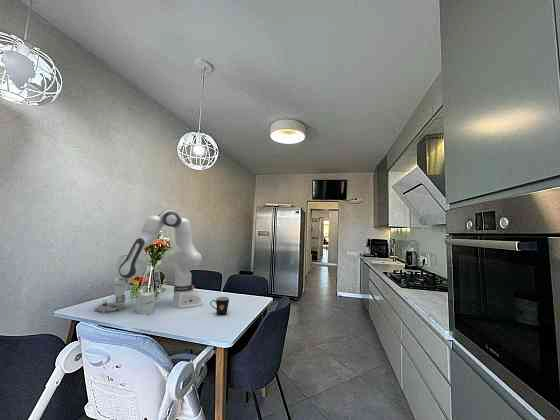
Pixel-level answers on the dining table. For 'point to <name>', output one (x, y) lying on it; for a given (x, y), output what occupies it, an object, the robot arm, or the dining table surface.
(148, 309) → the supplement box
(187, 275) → the robot arm
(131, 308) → the dining table surface
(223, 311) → the coffee mug
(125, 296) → the link block
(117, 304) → the sprocket
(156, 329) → the dining table surface
